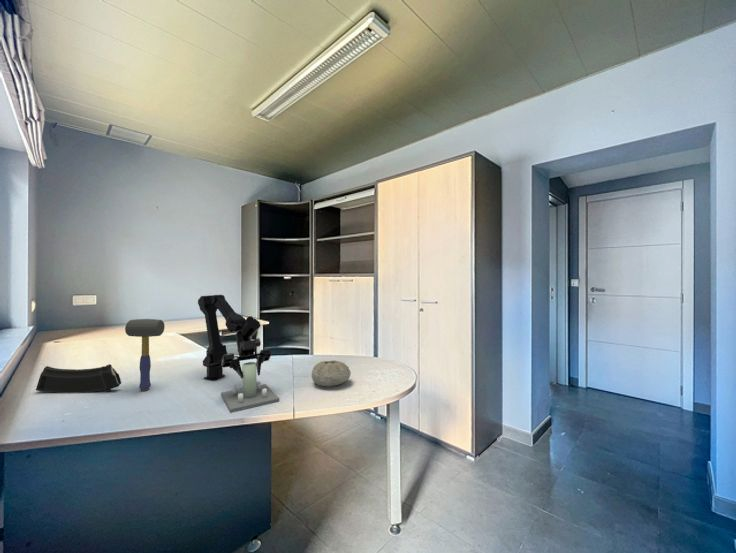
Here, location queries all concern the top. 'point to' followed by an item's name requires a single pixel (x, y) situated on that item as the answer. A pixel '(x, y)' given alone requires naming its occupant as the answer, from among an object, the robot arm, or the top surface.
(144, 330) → the rubber mallet
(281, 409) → the top surface
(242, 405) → the peg board
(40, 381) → the magazine
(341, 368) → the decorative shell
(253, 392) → the post
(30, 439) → the top surface
